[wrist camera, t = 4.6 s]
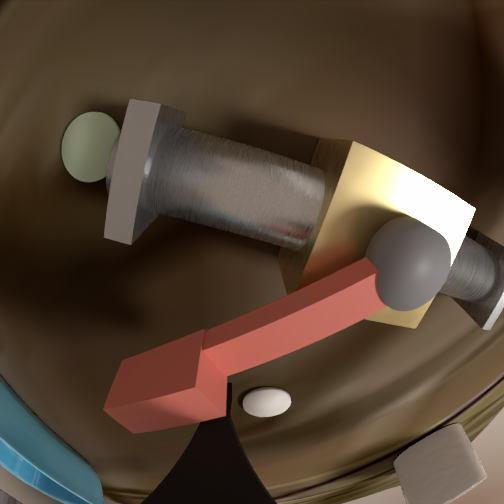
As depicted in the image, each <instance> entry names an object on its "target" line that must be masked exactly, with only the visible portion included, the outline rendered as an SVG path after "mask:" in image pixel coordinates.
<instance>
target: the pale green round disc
mask: <svg viewBox="0 0 504 504" xmlns="http://www.w3.org/2000/svg"><path fill="white" fill-rule="evenodd" d="M119 133H120V128H119V126H118V124H117V123H116V121H115V120H114V119H113V118H112V117H110V116H109V115H107V114H105V113H101V112H87V113H84V114H82V115H80V116H78V117H77V118H76V119H74V120H73V121H72V123H71V124H70V125H69V126H68V128H67V130H66V132H65V134H64V137H63V141H62V158H63V162H64V165H65V167H66V169H67V170H68V172H69V173H70V174H71V175H72V176H73V177H74V178H76V179H78V180H80V181H83V182H95V181H98V180H100V179H102V178H104V177H106V174H107V166H108V161H109V157H110V153H111V150H112V147H113V145H114V142H115V140H116V138H117V136H118V134H119Z"/></svg>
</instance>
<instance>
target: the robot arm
mask: <svg viewBox="0 0 504 504" xmlns="http://www.w3.org/2000/svg"><path fill="white" fill-rule="evenodd" d="M231 402H232V383H227V397H226V416H223V417H219V418H215V419H211V420H206V421H202V422H200V424H199V426H198V428H197V430H196V432H195V434H194V436H193V438H192V439H191V441H190V443H189V445H188V446H187V448H186V449H185V451H184V453H183V454H182V456H181V457H180V459H179V460H178V461H177V463H176V464H175V466H174V467H173V468H172V470H171V471H170V472H169V473H168V475H167V476H166V477H165V478H164V480H163V481H162V482H161V483H160V484H159V485H158V486H157V488H156V489H155V490H154V491H153V492H152V493H151V494H150V495H149V496H148V497H147V498H146V499H145V500H144V501H143V502H142V503H141V504H277V503H276V502H275V500H274V499H273V498H272V497H271V495H270V494H269V492H268V491H267V489H266V488H265V487H264V485H263V484H262V482H261V481H260V479H259V478H258V476H257V474H256V473H255V471H254V469H253V468H252V466H251V464H250V462H249V460H248V458H247V456H246V454H245V452H244V450H243V448H242V446H241V443H240V441H239V439H238V436H237V433H236V431H235V428H234V425H233V422H232V419H231V416H230V410H231ZM0 504H22V503H21V502H19V501H17V500H16V499H15V498H13V497H12V496H10V495H8V494H7V493H5V492H4V491H3V490H1V489H0Z"/></svg>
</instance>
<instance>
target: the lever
mask: <svg viewBox="0 0 504 504" xmlns="http://www.w3.org/2000/svg"><path fill="white" fill-rule="evenodd" d="M450 266H451V249H450V246H449V243H448V241H447V239H446V238H445V237H444V236H443V235H442V234H441V233H440V232H438V231H437V230H435V229H433V228H432V227H430V226H428V225H427V224H425V223H424V222H422V221H420V220H419V219H417V218H414V217H408V216H404V217H399V218H395V219H393V220H391V221H389V222H387V223H386V224H385V225H383V226H382V227H381V228H380V229H379V230H378V231H377V232H376V233H375V235H374V236H373V238H372V239H371V241H370V243H369V245H368V247H367V250H366V253H365V258H363V259H361V260H359V261H357V262H355V263H353V264H351V265H349V266H347V267H345V268H343V269H341V270H339V271H337V272H335V273H333V274H331V275H329V276H327V277H325V278H323V279H321V280H319V281H317V282H315V283H312V284H310V285H308V286H306V287H304V288H302V289H300V290H298V291H295V292H293V293H291V294H289V295H287V296H285V297H283V298H280V299H278V300H276V301H274V302H272V303H269V304H267V305H265V306H263V307H260V308H258V309H256V310H254V311H251V312H249V313H247V314H244V315H242V316H240V317H237V318H235V319H233V320H230V321H228V322H226V323H223V324H221V325H219V326H216V327H214V328H211V329H209V330H206V331H205V329H202V330H200V331H198V332H195V333H193V334H190V335H188V336H185V337H183V338H180V339H178V340H175V341H173V342H170V343H167V344H165V345H162V346H160V347H157V348H154V349H152V350H149V351H147V352H144V353H141V354H139V355H136V356H133V357H130V358H128V359H125V360H122V363H121V365H120V368H119V370H118V372H117V375H116V377H115V380H114V382H113V385H112V387H111V390H110V392H109V395H108V397H107V400H106V402H105V405H104V408H103V410H104V411H105V412H106V413H107V414H109V415H110V416H111V417H112V418H114V419H115V420H116V421H117V422H119V423H120V424H121V425H123V426H124V427H125V428H127V429H128V430H129V431H131V432H132V433H133V434H134V433H142V432H149V431H155V430H162V429H167V428H173V427H178V426H183V425H188V424H193V423H198V422H202V421H206V420H211V419H215V418H219V417H223V416H226V397H227V376H229V375H232V374H235V373H238V372H241V371H243V370H246V369H249V368H252V367H254V366H257V365H260V364H263V363H265V362H268V361H270V360H273V359H275V358H278V357H280V356H283V355H285V354H288V353H290V352H293V351H295V350H298V349H300V348H302V347H305V346H307V345H309V344H312V343H314V342H316V341H318V340H321V339H323V338H325V337H327V336H329V335H331V334H334V333H336V332H338V331H340V330H342V329H344V328H346V327H348V326H350V325H352V324H354V323H356V322H359V321H361V320H362V319H364V318H366V317H368V316H370V315H372V314H374V313H376V312H378V311H380V310H382V309H384V308H385V307H387V306H388V307H390V308H391V309H393V310H396V311H411V310H414V309H417V308H419V307H421V306H423V305H424V304H426V303H427V302H429V301H430V300H431V299H432V298H433V297H434V296H435V295H436V294H437V293H438V292H439V290H440V289H441V288H442V286H443V284H444V283H445V281H446V279H447V276H448V274H449V270H450Z"/></svg>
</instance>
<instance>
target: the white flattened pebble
mask: <svg viewBox="0 0 504 504" xmlns="http://www.w3.org/2000/svg"><path fill="white" fill-rule="evenodd" d="M290 404H291V398H290V395H289V393H288V392H286V391H285V390H283V389H280V388H276V387H263V388H258V389H255V390H252V391H250V392H249V393H248V394H246V395H245V397H244V398H243V408H244V410H245V411H246V412H247V413H249V414H251V415H254V416H259V417H270V416H275V415H278V414H280V413H282V412H284V411H286V410H287V409H288V408H289V406H290Z"/></svg>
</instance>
